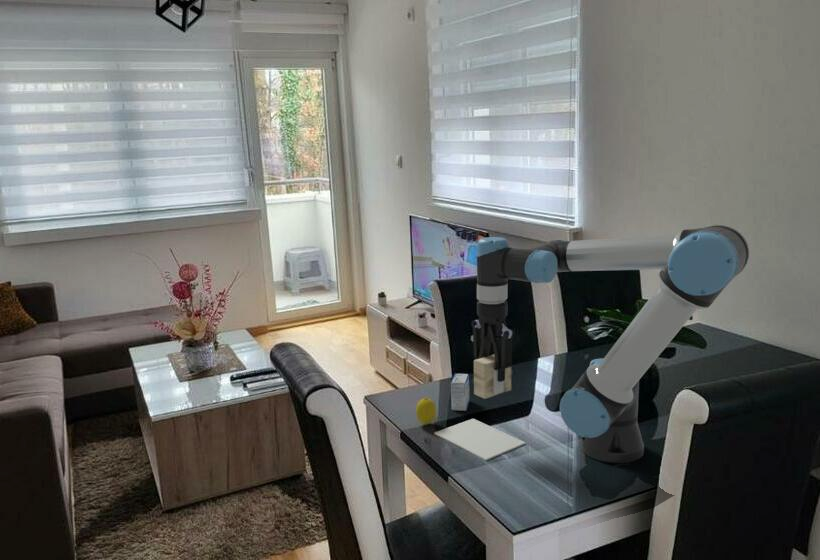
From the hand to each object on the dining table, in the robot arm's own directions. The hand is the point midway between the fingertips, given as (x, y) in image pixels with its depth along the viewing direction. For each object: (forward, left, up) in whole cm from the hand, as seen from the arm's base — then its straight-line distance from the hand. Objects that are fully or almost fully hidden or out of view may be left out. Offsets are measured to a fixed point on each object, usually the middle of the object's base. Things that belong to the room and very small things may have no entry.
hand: (492, 389), depth 168 cm
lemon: (+20, +6, -15) cm, 26 cm away
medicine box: (+24, -10, -15) cm, 31 cm away
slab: (0, 0, -1) cm, 1 cm away
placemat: (+4, +1, -15) cm, 15 cm away
